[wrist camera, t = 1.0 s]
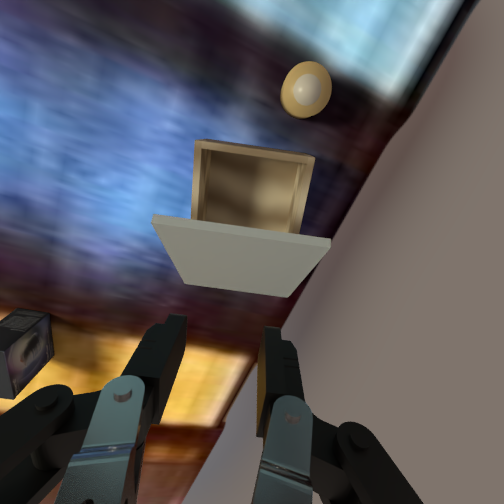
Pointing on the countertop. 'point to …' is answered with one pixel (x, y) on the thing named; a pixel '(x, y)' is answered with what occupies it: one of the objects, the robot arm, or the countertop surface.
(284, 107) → the tan rounded piece
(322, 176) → the countertop surface
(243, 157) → the crate
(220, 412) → the countertop surface
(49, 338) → the small box
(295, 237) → the lid
